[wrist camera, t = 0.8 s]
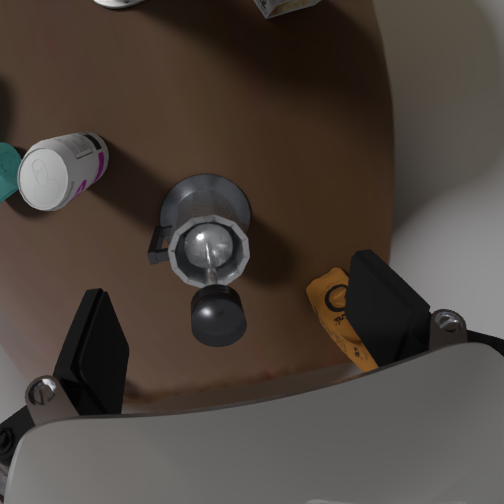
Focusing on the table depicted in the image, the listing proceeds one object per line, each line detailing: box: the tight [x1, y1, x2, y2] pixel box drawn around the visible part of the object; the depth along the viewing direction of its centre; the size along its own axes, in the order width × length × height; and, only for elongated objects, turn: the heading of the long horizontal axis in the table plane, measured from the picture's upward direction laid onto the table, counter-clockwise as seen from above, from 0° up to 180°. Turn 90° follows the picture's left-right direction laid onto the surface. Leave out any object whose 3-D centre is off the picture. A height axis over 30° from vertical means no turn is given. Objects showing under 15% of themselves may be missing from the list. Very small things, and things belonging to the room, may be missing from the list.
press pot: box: [148, 174, 250, 288], centre depth 40 cm, size 14×14×13 cm
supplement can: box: [18, 132, 109, 211], centre depth 32 cm, size 8×8×15 cm
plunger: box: [184, 222, 247, 347], centre depth 30 cm, size 6×6×16 cm
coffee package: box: [306, 268, 379, 372], centre depth 48 cm, size 10×12×22 cm
